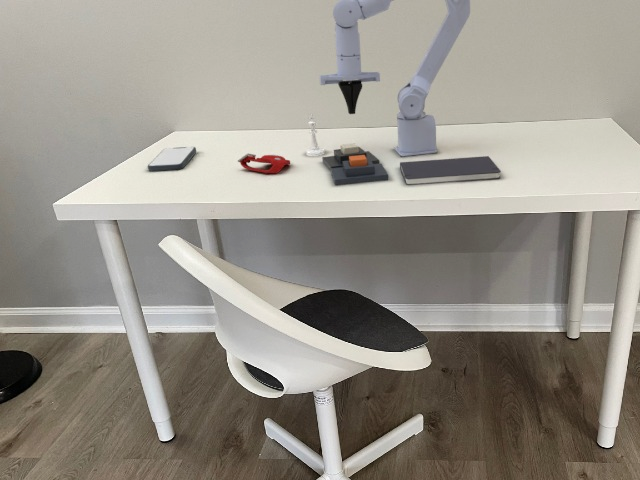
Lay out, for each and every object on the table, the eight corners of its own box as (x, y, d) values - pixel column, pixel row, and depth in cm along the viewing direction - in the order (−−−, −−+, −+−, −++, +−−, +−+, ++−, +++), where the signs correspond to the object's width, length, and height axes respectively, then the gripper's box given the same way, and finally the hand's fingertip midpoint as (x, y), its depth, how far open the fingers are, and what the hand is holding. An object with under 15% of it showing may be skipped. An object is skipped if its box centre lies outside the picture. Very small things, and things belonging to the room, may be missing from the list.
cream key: (355, 150, 153) (354, 143, 152) (359, 153, 150) (358, 146, 149) (340, 151, 152) (340, 144, 151) (344, 155, 149) (343, 148, 148)
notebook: (488, 162, 149) (400, 168, 147) (488, 155, 148) (399, 162, 147) (501, 178, 138) (405, 185, 136) (501, 171, 137) (405, 178, 136)
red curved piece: (285, 156, 157) (296, 155, 148) (285, 174, 158) (295, 174, 149) (236, 152, 152) (244, 151, 143) (236, 170, 152) (244, 171, 143)
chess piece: (321, 156, 160) (317, 116, 155) (303, 156, 161) (298, 116, 156) (327, 151, 164) (323, 112, 159) (309, 150, 165) (305, 112, 160)
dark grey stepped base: (369, 156, 158) (368, 143, 156) (379, 165, 150) (378, 152, 149) (322, 162, 155) (321, 149, 153) (331, 172, 147) (329, 159, 146)
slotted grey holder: (381, 169, 148) (380, 155, 146) (388, 180, 140) (387, 166, 138) (331, 174, 146) (330, 160, 144) (335, 185, 138) (333, 171, 137)
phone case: (183, 170, 154) (198, 151, 168) (181, 164, 154) (197, 146, 167) (147, 172, 154) (165, 153, 168) (145, 166, 153) (164, 147, 167)
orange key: (365, 162, 143) (364, 154, 143) (367, 166, 140) (366, 159, 140) (349, 163, 143) (348, 156, 142) (351, 168, 140) (350, 160, 139)
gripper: (374, 51, 153) (376, 107, 160) (315, 54, 150) (320, 112, 157) (380, 54, 147) (382, 113, 154) (319, 58, 144) (324, 118, 151)
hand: (351, 113), depth 155 cm, fingers closed
